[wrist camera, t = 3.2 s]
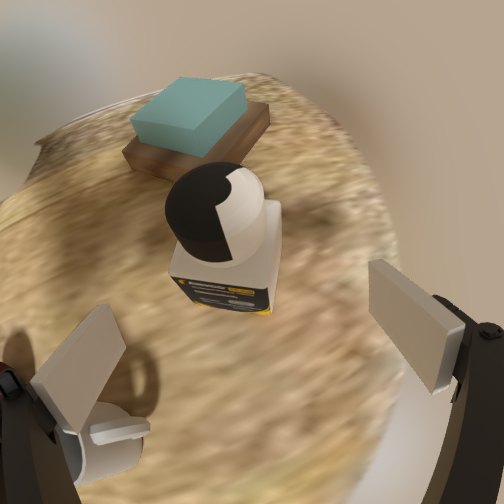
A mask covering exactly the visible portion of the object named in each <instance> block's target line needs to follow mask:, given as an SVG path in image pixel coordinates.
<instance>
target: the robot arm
mask: <svg viewBox="0 0 504 504" xmlns="http://www.w3.org/2000/svg"><path fill="white" fill-rule="evenodd" d="M368 267H369V312H370V313H371V315H372V316H373V317H374V318H375V320H376V321H377V322H378V323H379V325H380V326H381V327H382V329H383V330H384V331H385V332H386V334H387V335H388V336H389V338H390V339H391V340H392V341H393V343H394V344H395V345H396V347H397V348H398V349H399V351H400V352H401V353H402V355H403V356H404V357H405V359H406V360H407V361H408V363H409V364H410V365H411V367H412V368H413V369H414V371H415V372H416V374H417V375H418V376H419V378H420V379H421V380H422V382H423V383H424V385H425V386H426V387H427V389H428V390H429V392H430V393H431V394H432V395H434V394H436V393H438V392H440V391H443V390H445V389H447V388H449V385H450V382H451V379H452V376H454V377H455V378H456V379H457V381H458V383H457V386H456V389H455V392H454V394H453V398H452V400H451V403H453V405H452V410H451V414H450V419H449V423H448V427H447V431H446V434H445V438H444V442H443V445H442V449H441V452H440V455H439V458H438V461H437V464H436V467H435V470H434V473H433V476H432V478H431V481H430V484H429V486H428V489H427V491H426V494H425V496H424V498H423V501H422V503H421V504H496V500H497V496H498V492H499V488H500V483H501V478H502V472H503V466H504V330H503V329H502V328H501V327H500V326H498V325H496V324H494V323H488V322H486V323H480V324H477V323H476V322H475V321H474V320H473V319H471V318H470V317H469V316H467V315H466V314H465V313H464V312H462V311H461V310H459V308H457V307H456V306H455V305H454V306H453V304H452V303H451V302H450V301H448V300H447V299H445V298H443V297H440V296H438V295H433V296H431V295H429V294H428V293H427V292H426V291H424V290H423V289H422V288H420V287H419V286H418V285H417V284H415V283H414V282H413V281H411V280H410V279H409V278H407V277H406V276H405V275H403V274H402V273H401V272H399V271H398V270H397V269H395V268H394V267H393V266H391V265H390V264H389V263H387V262H386V261H384V260H383V259H379V260H374V261H369V262H368ZM125 350H126V345H125V343H124V341H123V338H122V336H121V333H120V331H119V328H118V326H117V323H116V321H115V318H114V316H113V313H112V310H111V307H110V305H109V304H102V305H97V306H96V307H95V308H94V309H93V310H92V311H91V312H90V314H89V315H88V316H87V317H86V318H85V319H84V320H83V321H82V322H81V323H80V324H79V325H78V326H77V327H76V329H75V330H74V331H73V332H72V333H71V334H70V335H69V336H68V337H67V338H66V340H65V341H64V342H63V343H62V344H61V345H60V346H59V347H58V349H57V350H56V351H55V352H54V353H53V354H52V355H51V357H50V358H49V359H48V360H47V361H46V362H45V364H44V365H43V366H42V367H41V368H40V369H39V371H38V372H37V373H36V374H35V375H34V377H33V378H32V379H31V380H30V382H29V383H28V384H27V386H26V387H25V385H24V384H23V382H22V380H21V379H20V377H19V375H18V374H17V372H16V370H15V369H13V368H9V369H5V370H3V371H1V372H0V395H1V397H2V398H0V504H82V503H81V501H80V499H79V496H78V494H77V491H76V488H75V486H74V483H73V480H72V477H71V475H70V472H69V469H68V465H67V462H66V459H65V456H64V452H63V449H62V445H61V442H60V438H59V434H58V432H57V431H56V430H55V426H56V424H57V423H58V424H59V426H60V427H61V428H62V430H63V431H64V432H65V433H69V434H74V435H79V433H80V431H81V429H82V427H83V425H84V423H85V421H86V419H87V417H88V415H89V414H90V412H91V410H92V408H93V406H94V404H95V402H96V401H97V399H98V397H99V395H100V393H101V391H102V390H103V388H104V386H105V384H106V382H107V381H108V379H109V377H110V375H111V374H112V372H113V370H114V368H115V367H116V365H117V363H118V361H119V360H120V358H121V356H122V355H123V353H124V351H125Z"/></svg>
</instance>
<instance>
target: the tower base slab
mask: <svg viewBox="0 0 504 504" xmlns="http://www.w3.org/2000/svg"><path fill="white" fill-rule="evenodd" d="M246 102H247V110H246V111H245V112H244V113H243V115H242V116H241V117H240V118H239V119H238V120H237V121H236V122H235V123H234V124H233V125H232V126H231V127H230V128H229V129H228V131H227V132H226V133H225V134H224V135H223V136H222V137H221V138H220V139H219V140H218V142H217V143H216V144H215V145H214V146H213V147H212V148H211V149H210V151H209V152H208V153H207V154H206V155H205V156H204V158H200V157H196V156H193V155H189V154H185V153H181V152H178V151H174V150H170V149H166V148H162V147H157V146H153V145H149V144H145V143H141V142H140V140H139V138H138V136H136V137H135V138H134V139H133V140H132V141H131V142H130V143H129V144H128V145H127V146H126V147H125V148H124V149H123V150H122V153H123V155H124V157H125V158H126V160H127V162H128V164H129V165H130V167H131V169H134V170H137V171H140V172H144V173H147V174H150V175H153V176H156V177H159V178H162V179H165V180H168V181H172V182H175V183H176V182H177V181H178V180H179V179H180V178H181V177H182V176H183V175H184V174H186V173H187V172H189V171H190V170H192V169H194V168H196V167H198V166H201V165H204V164H208V163H213V162H230V163H234V164H238V165H239V164H240V163H241V161H242V160H243V159H244V158H245V156H246V155H247V154H248V152H249V151H250V150H251V148H252V147H253V146H254V144H255V143H256V142H257V141H258V139H259V138H260V137H261V136H262V134H263V133H264V132H265V130H266V129H267V128H268V127H269V125H270V115H269V104H265V103H260V102H254V101H249V100H246Z"/></svg>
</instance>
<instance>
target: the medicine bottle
mask: <svg viewBox="0 0 504 504" xmlns="http://www.w3.org/2000/svg"><path fill="white" fill-rule="evenodd" d="M165 215H166V219H167V222H168V223H169V225H170V227H171V229H172V230H173V232H174V234H175V235H176V237H177V239H178V241H177V244H176V247H175V250H174V253H173V256H172V260H171V263H170V266H169V269H168V273H169V275H170V276H171V278H172V279H173V280H174V281H175V282H176V283H177V284H178V286H179V287H180V288H181V289H182V290H183V291H184V292H185V294H186V295H187V296H188V297H189V298H190V299H191V300H192V301H193V303H194V304H196V305H202V306H208V307H214V308H220V309H227V310H233V311H240V312H247V313H254V314H261V315H270V314H271V313H272V310H273V303H274V297H275V290H276V284H277V277H278V271H279V264H280V257H281V250H282V223H281V203H280V202H279V201H278V200H268V199H264V191H263V187H262V184H261V182H260V180H259V179H258V177H257V176H256V175H255V174H254V173H253V172H252V171H250V170H249V169H247V168H245V167H243V166H240V165H238V164H234V163H230V162H213V163H208V164H204V165H201V166H198V167H196V168H194V169H192V170H190V171H189V172H187V173H186V174H184V175H183V176H182V177H181V178H180V179H179V180H178V181H177V182H176V183H175V185H174V186H173V187H172V189H171V191H170V193H169V195H168V197H167V200H166V204H165Z"/></svg>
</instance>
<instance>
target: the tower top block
mask: <svg viewBox="0 0 504 504" xmlns="http://www.w3.org/2000/svg"><path fill="white" fill-rule="evenodd" d="M246 110H247V102H246V95H245V88H244V83H237V82H229V81H220V80H211V79H199V78H185V77H180V78H179V79H177V80H176V81H175V82H174V83H172V84H171V85H169V86H168V87H167V88H166V89H164V90H163V91H162V92H161V93H159V94H158V95H157V96H156V97H154V98H153V99H152V100H151V101H150V102H148V103H147V104H146V105H145V106H144V107H143V108H141V109H140V110H139V111H138V112H137V113H136V114H135V115H134V116H132V117H131V118H130V121H131V123H132V125H133V127H134V129H135V131H136V134H137V136H138V138H139V140H140V142H141V143H145V144H149V145H153V146H157V147H162V148H166V149H170V150H174V151H178V152H181V153H185V154H189V155H193V156H196V157H200V158H204V156H205V155H206V154H207V153H208V152H209V151H210V149H211V148H212V147H213V146H214V145H215V144H216V143H217V142H218V140H219V139H220V138H221V137H222V136H223V135H224V134H225V133H226V132H227V131H228V129H229V128H230V127H231V126H232V125H233V124H234V123H235V122H236V121H237V120H238V119H239V118H240V117H241V116H242V115H243V113H244V112H245V111H246Z"/></svg>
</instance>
